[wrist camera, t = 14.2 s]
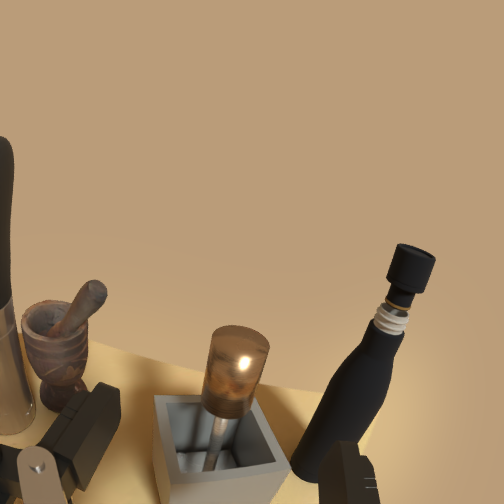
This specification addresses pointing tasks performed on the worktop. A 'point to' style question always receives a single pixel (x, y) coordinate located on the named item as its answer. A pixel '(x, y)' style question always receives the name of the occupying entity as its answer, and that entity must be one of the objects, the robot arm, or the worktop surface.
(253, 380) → the plunger
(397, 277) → the black water bottle
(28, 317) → the mortar and pestle
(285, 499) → the worktop surface
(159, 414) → the grey open box
